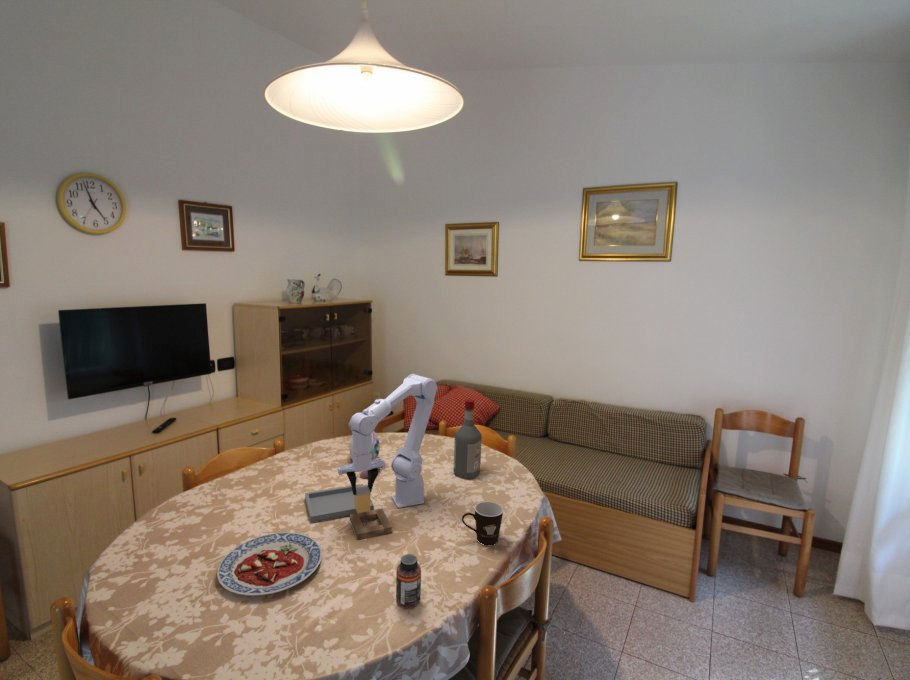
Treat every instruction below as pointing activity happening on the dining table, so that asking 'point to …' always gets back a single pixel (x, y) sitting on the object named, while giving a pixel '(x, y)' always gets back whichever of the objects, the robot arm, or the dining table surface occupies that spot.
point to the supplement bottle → (408, 582)
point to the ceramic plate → (269, 564)
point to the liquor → (467, 446)
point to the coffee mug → (487, 522)
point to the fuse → (362, 499)
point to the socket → (372, 531)
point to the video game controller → (365, 473)
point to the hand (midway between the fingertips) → (362, 492)
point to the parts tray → (331, 504)
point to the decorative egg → (374, 447)
